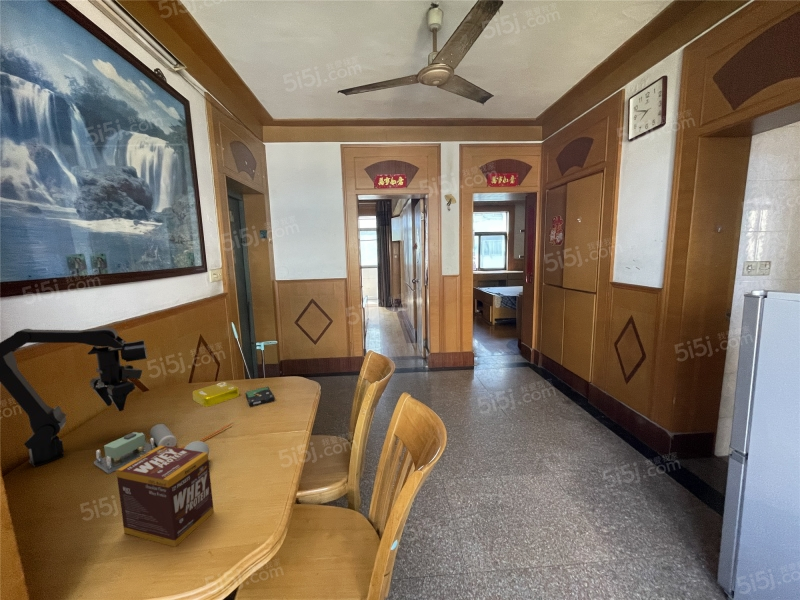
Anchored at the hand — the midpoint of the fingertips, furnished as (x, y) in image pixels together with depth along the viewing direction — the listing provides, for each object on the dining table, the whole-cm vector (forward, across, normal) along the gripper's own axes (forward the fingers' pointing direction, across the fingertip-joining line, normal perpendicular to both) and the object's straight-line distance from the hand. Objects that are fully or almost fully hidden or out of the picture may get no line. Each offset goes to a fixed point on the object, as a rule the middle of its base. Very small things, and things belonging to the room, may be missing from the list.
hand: (115, 408), depth 113 cm
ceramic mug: (+12, -40, -2) cm, 42 cm away
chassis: (+12, -15, +3) cm, 19 cm away
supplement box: (+12, -57, +11) cm, 59 cm away
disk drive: (+13, -14, -46) cm, 50 cm away
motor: (+13, -17, -16) cm, 27 cm away
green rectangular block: (+10, -15, +3) cm, 18 cm away
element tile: (+13, +6, -38) cm, 40 cm away
